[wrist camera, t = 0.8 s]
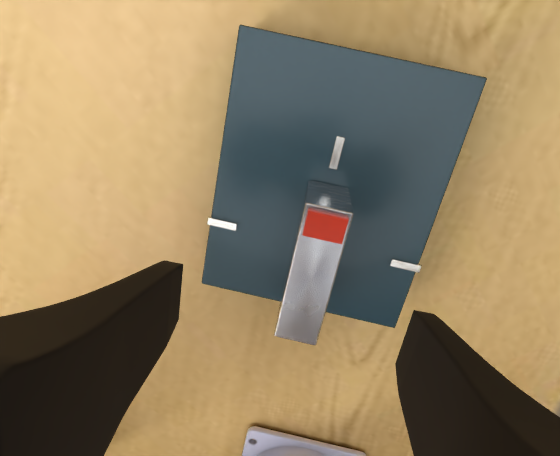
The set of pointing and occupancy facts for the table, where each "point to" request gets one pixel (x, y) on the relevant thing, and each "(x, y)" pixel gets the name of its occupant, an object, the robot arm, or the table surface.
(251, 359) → the table surface
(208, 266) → the tap console
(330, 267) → the tap handle
